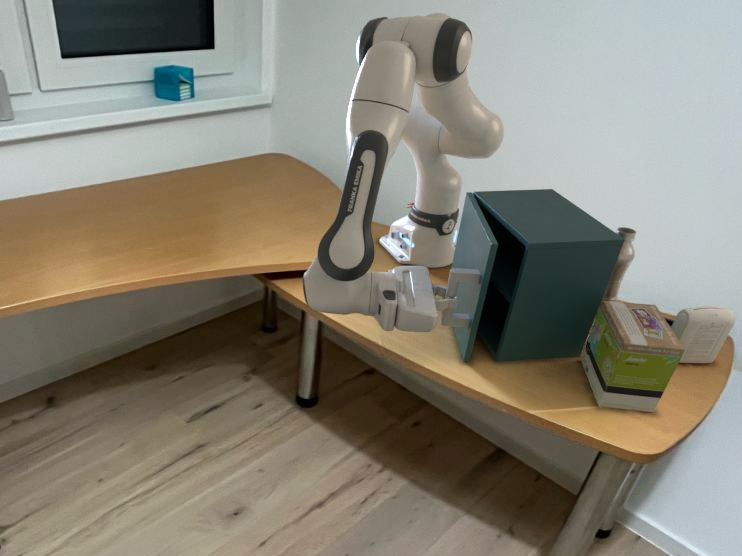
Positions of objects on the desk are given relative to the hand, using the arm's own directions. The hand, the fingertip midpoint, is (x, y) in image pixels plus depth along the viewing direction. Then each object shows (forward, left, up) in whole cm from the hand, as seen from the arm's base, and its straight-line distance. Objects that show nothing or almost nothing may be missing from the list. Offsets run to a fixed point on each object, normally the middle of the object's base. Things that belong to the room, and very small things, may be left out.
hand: (456, 298), depth 111 cm
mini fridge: (-2, +21, -13) cm, 25 cm away
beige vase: (+2, +44, -13) cm, 46 cm away
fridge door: (-8, +7, -13) cm, 17 cm away
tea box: (+23, +23, -13) cm, 35 cm away
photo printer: (+23, +44, -13) cm, 51 cm away
